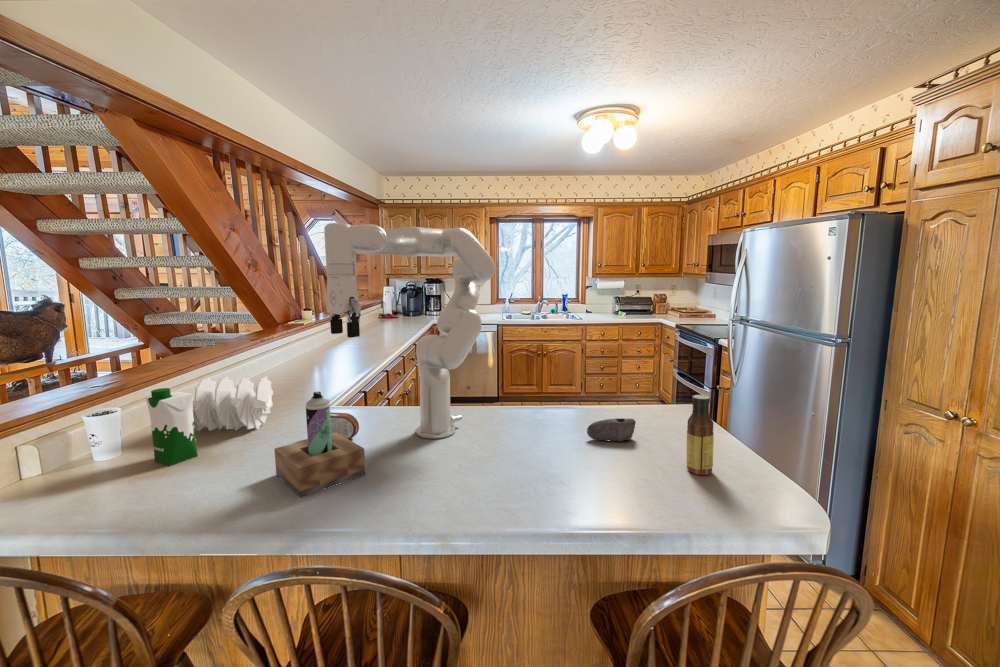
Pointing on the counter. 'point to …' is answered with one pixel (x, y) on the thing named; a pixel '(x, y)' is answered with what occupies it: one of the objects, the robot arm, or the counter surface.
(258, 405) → the spiral staircase
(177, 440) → the milk carton
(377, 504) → the counter surface
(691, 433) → the sauce bottle
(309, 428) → the spray can
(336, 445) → the socket block
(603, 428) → the perforated stone tool
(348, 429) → the tin
